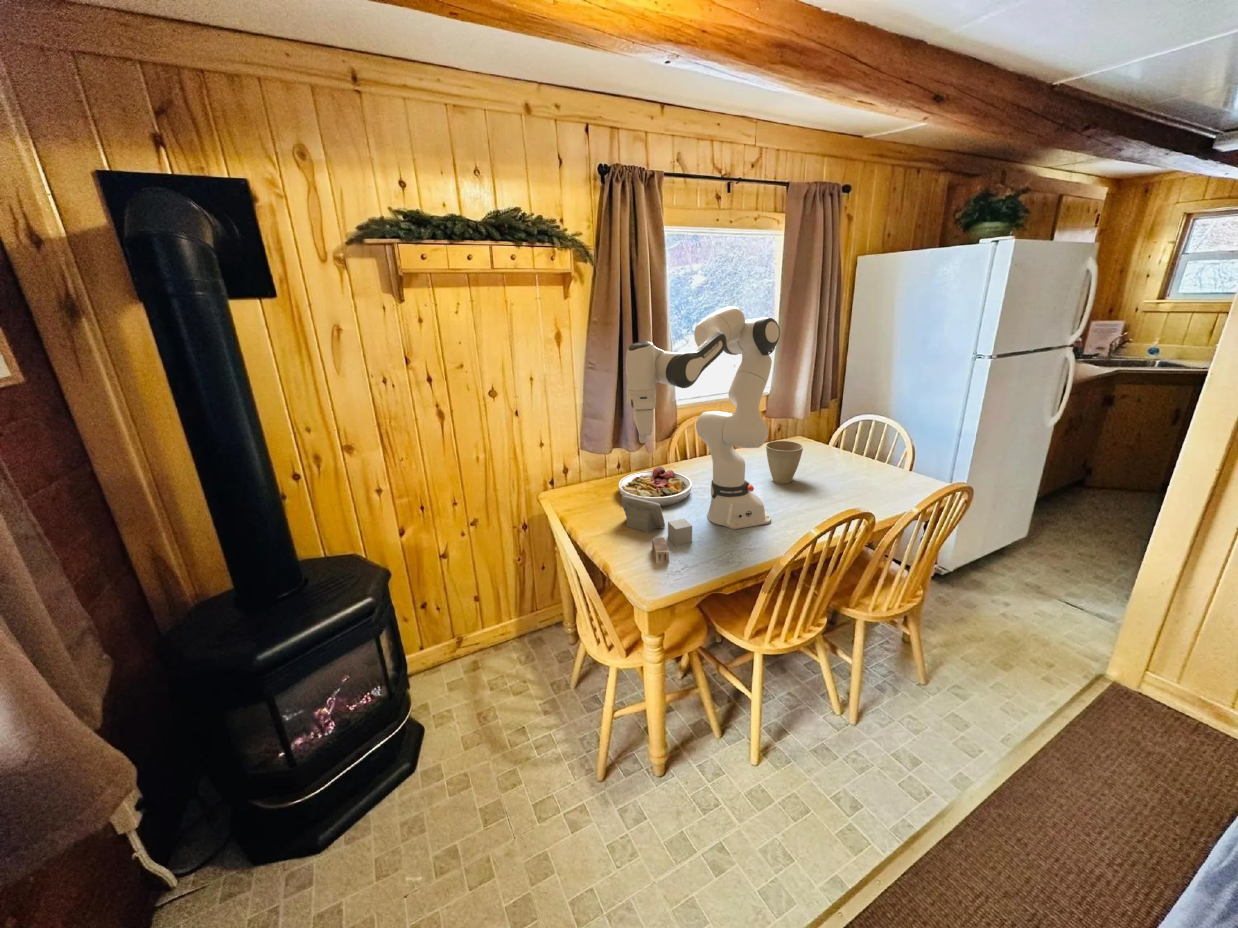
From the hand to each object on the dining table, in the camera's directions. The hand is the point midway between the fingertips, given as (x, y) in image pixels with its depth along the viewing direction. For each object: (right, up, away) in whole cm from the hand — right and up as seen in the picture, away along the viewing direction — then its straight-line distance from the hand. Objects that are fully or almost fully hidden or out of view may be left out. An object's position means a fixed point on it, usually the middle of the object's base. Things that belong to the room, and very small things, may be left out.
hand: (642, 441), depth 148 cm
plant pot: (+63, -14, +58) cm, 87 cm away
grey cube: (+13, -32, +12) cm, 37 cm away
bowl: (+8, -20, +50) cm, 54 cm away
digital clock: (+1, -29, +23) cm, 37 cm away
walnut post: (+6, -36, -2) cm, 36 cm away
